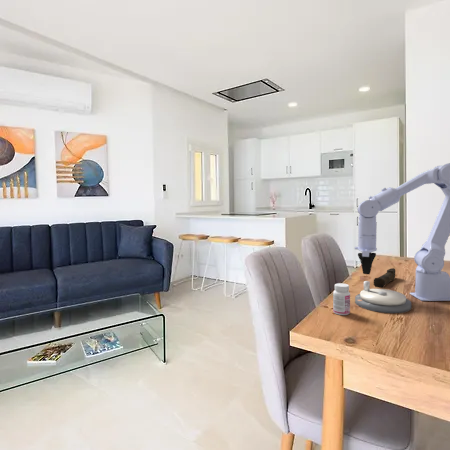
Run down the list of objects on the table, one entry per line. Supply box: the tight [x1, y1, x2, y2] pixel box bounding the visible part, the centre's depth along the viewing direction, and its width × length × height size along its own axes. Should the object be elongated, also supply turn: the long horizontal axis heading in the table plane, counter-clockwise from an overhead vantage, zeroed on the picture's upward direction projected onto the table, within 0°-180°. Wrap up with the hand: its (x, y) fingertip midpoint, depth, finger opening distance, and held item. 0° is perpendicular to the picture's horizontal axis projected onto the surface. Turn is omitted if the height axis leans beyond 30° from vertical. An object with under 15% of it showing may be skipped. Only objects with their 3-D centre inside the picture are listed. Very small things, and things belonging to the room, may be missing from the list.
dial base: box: [354, 293, 412, 314], centre depth 102 cm, size 16×16×2 cm
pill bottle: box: [332, 282, 351, 316], centre depth 95 cm, size 5×5×8 cm
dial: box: [359, 280, 407, 306], centre depth 102 cm, size 13×13×4 cm
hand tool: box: [373, 268, 396, 289], centre depth 127 cm, size 19×4×5 cm, turn 134°
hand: (366, 273), depth 113 cm, fingers closed
